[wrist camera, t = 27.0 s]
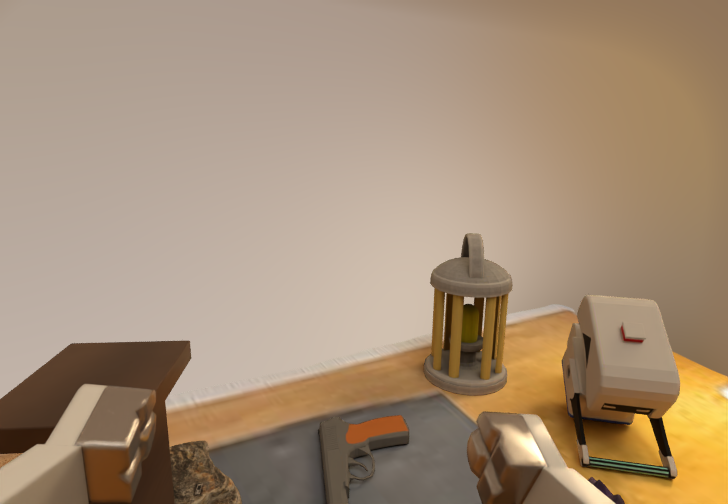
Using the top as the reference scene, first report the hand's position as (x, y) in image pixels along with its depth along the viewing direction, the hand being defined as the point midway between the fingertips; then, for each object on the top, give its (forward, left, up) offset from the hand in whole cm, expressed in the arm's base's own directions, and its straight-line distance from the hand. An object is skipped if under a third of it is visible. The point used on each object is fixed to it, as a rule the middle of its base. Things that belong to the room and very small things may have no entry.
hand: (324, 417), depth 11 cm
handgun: (+6, +39, -32) cm, 51 cm away
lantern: (+25, +61, -32) cm, 73 cm away
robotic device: (+40, +44, -32) cm, 67 cm away
